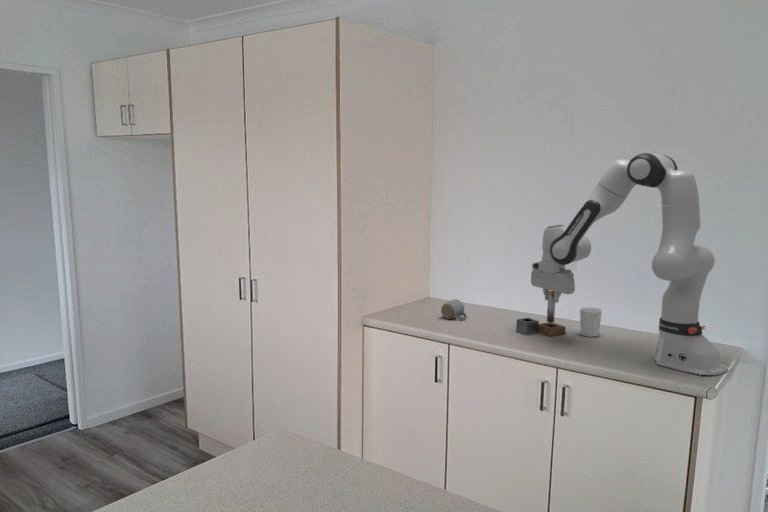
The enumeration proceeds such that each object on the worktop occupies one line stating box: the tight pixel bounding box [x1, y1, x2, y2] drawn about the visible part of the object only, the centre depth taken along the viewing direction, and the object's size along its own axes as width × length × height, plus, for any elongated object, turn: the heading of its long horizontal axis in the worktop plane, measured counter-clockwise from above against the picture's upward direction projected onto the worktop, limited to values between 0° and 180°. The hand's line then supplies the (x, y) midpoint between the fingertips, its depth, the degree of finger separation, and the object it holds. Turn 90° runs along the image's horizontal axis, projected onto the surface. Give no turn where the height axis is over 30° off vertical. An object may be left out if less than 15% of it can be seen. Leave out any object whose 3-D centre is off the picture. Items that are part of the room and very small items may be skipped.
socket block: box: [515, 317, 540, 336], centre depth 233 cm, size 6×6×5 cm
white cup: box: [579, 306, 603, 338], centre depth 230 cm, size 8×8×10 cm
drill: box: [546, 290, 556, 323], centre depth 231 cm, size 3×3×12 cm
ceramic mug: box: [440, 298, 468, 322], centre depth 254 cm, size 11×8×8 cm
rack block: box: [537, 322, 567, 338], centre depth 232 cm, size 8×8×3 cm
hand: (551, 301), depth 231 cm, fingers closed on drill, 3 cm apart
